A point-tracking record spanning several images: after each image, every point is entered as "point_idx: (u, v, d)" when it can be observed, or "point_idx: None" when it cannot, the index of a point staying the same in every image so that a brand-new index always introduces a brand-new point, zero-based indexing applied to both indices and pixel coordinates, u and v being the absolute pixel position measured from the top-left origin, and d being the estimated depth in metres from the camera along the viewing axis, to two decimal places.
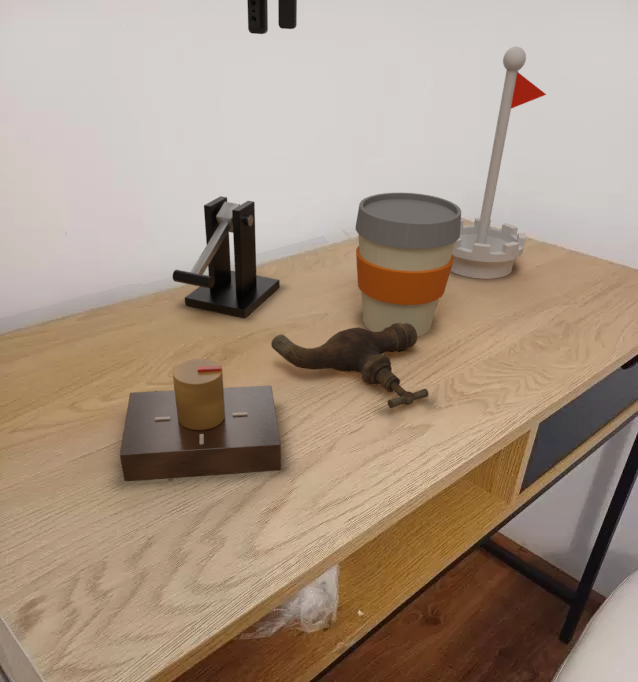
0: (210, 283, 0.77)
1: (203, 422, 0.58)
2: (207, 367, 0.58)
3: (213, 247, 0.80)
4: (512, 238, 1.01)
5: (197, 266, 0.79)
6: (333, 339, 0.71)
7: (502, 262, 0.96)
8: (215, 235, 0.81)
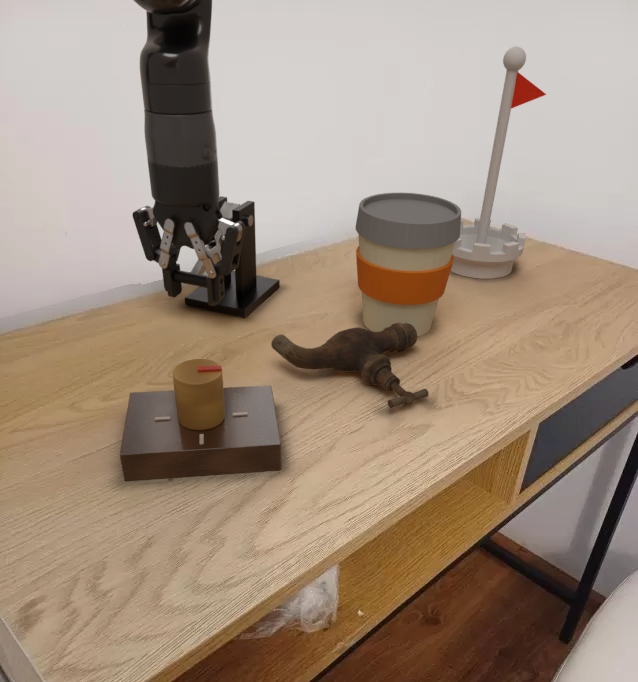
0: None
1: (203, 422, 0.58)
2: (207, 367, 0.58)
3: None
4: (512, 238, 1.01)
5: (197, 266, 0.79)
6: (333, 339, 0.71)
7: (502, 262, 0.96)
8: None
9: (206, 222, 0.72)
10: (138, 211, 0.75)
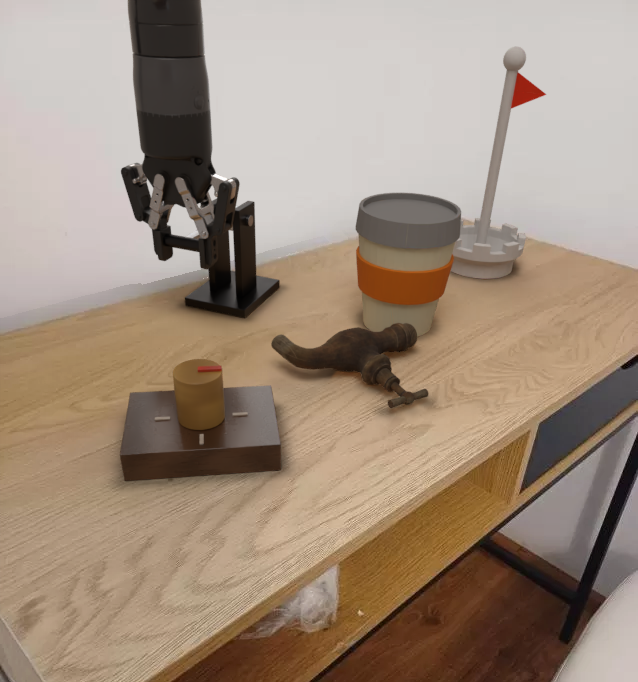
0: None
1: (203, 422, 0.58)
2: (207, 367, 0.58)
3: None
4: (512, 238, 1.01)
5: (191, 234, 0.76)
6: (333, 339, 0.71)
7: (502, 262, 0.96)
8: None
9: (198, 177, 0.68)
10: (127, 167, 0.71)
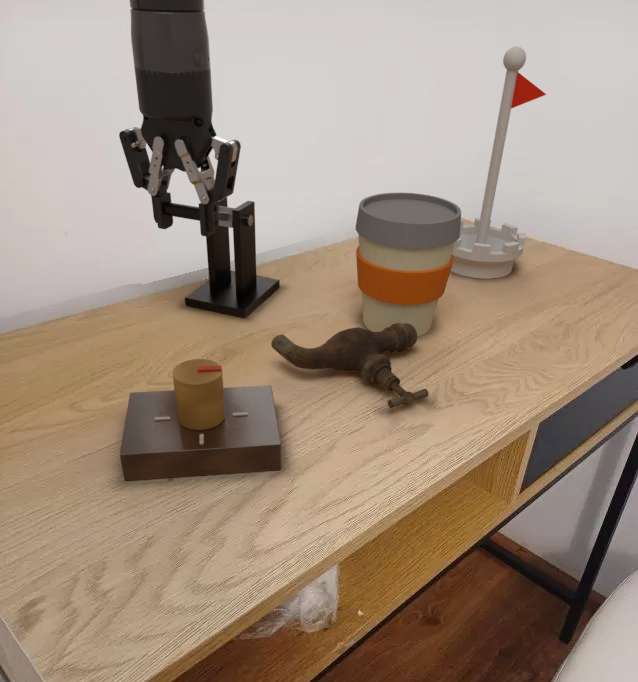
0: None
1: (203, 422, 0.58)
2: (207, 367, 0.58)
3: None
4: (512, 238, 1.01)
5: None
6: (333, 339, 0.71)
7: (502, 262, 0.96)
8: None
9: (198, 139, 0.67)
10: (125, 131, 0.69)
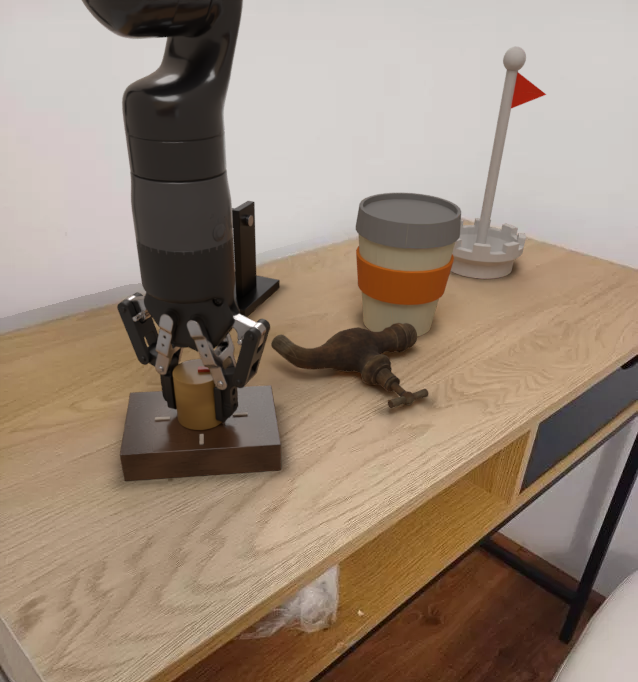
0: None
1: (203, 422, 0.58)
2: (207, 367, 0.58)
3: None
4: (512, 238, 1.01)
5: None
6: (333, 339, 0.71)
7: (502, 262, 0.96)
8: None
9: (217, 320, 0.52)
10: (124, 302, 0.55)
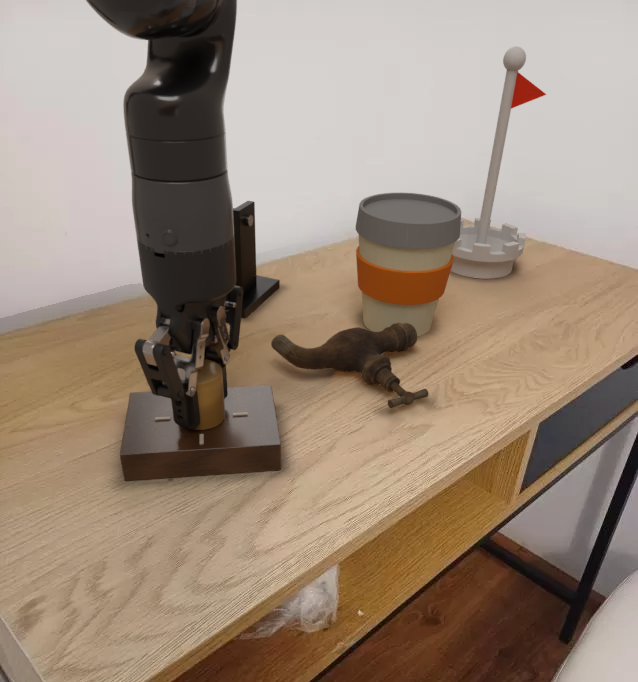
0: None
1: None
2: None
3: None
4: (512, 238, 1.01)
5: None
6: (333, 339, 0.71)
7: (502, 262, 0.96)
8: None
9: (222, 297, 0.56)
10: (163, 344, 0.49)
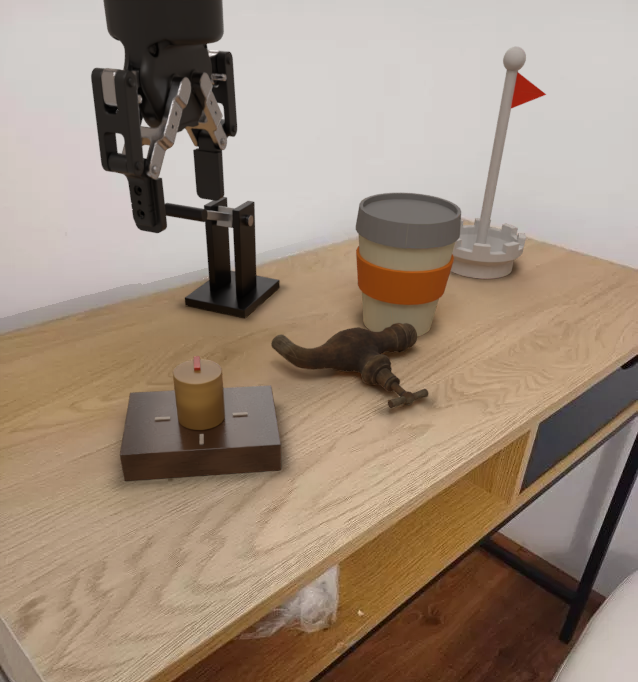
0: (203, 214, 0.72)
1: None
2: (196, 362, 0.58)
3: (211, 211, 0.77)
4: (512, 238, 1.01)
5: None
6: (333, 339, 0.71)
7: (502, 262, 0.96)
8: (214, 211, 0.79)
9: (207, 69, 0.46)
10: None
